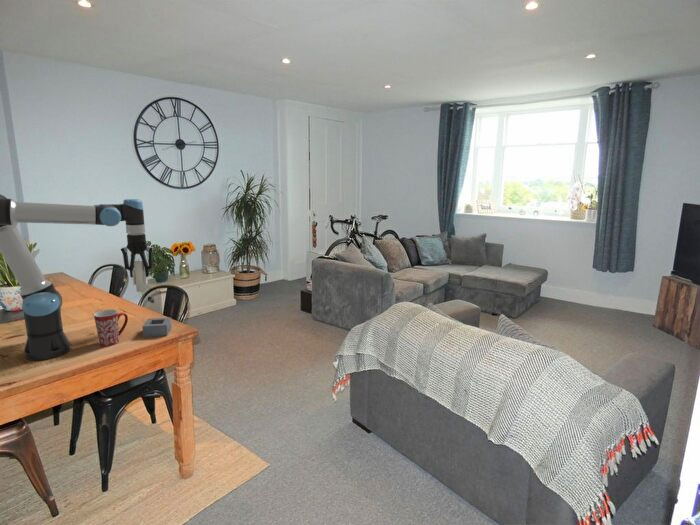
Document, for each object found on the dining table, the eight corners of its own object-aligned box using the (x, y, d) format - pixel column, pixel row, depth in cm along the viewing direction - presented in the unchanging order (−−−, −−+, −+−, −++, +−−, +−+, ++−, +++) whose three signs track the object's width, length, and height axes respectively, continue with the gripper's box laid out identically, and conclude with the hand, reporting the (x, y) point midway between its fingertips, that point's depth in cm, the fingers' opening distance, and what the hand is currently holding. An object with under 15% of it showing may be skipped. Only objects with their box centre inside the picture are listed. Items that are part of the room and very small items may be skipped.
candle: (144, 291, 194) (142, 260, 191) (135, 292, 193) (132, 260, 190) (146, 289, 198) (144, 258, 195) (137, 289, 197) (134, 258, 194)
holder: (167, 335, 188) (166, 325, 187) (143, 337, 186) (142, 326, 185) (171, 327, 197) (170, 317, 196) (148, 328, 195) (147, 318, 194)
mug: (100, 349, 173) (96, 318, 170) (94, 342, 179) (90, 312, 176) (133, 340, 182) (130, 311, 179) (126, 334, 188) (123, 306, 185)
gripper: (158, 232, 195) (161, 281, 200) (117, 232, 191) (122, 282, 196) (154, 234, 188) (158, 285, 193) (112, 235, 184) (118, 286, 189)
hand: (140, 283), depth 195 cm, fingers closed on candle, 4 cm apart
